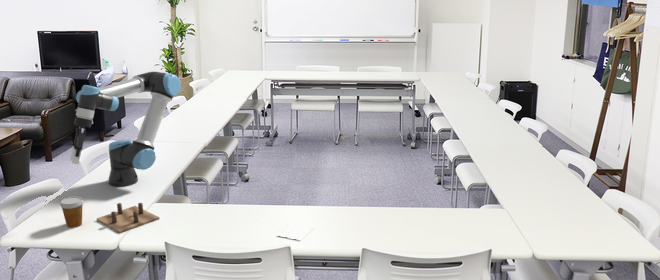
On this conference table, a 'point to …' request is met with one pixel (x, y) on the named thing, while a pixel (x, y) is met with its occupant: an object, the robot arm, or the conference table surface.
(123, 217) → the holder
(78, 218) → the disposable coffee cup
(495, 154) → the conference table surface
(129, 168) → the robot arm
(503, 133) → the conference table surface
